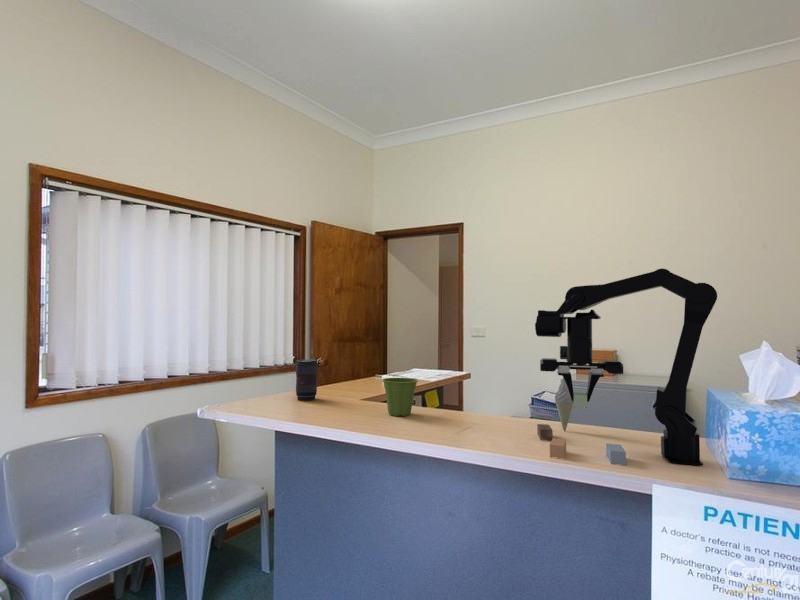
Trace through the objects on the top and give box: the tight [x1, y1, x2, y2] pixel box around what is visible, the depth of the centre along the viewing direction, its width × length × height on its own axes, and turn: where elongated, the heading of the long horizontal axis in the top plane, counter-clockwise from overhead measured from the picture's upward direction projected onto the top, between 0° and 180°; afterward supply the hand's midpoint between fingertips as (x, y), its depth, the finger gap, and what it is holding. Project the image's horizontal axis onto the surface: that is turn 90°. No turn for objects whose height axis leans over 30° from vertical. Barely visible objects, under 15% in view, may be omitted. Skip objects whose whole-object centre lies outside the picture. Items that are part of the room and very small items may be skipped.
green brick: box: [573, 390, 588, 409], centre depth 113 cm, size 3×6×3 cm, turn 159°
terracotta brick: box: [549, 438, 567, 459], centre depth 106 cm, size 3×6×3 cm, turn 155°
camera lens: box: [295, 358, 318, 401], centre depth 176 cm, size 8×8×15 cm
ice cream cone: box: [554, 377, 574, 432], centre depth 128 cm, size 5×5×15 cm
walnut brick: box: [536, 423, 554, 442], centre depth 121 cm, size 3×6×3 cm, turn 170°
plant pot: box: [381, 377, 419, 417], centre depth 149 cm, size 12×12×11 cm
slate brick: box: [605, 443, 627, 465], centre depth 101 cm, size 3×6×3 cm, turn 164°
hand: (580, 401), depth 113 cm, fingers closed on green brick, 3 cm apart
